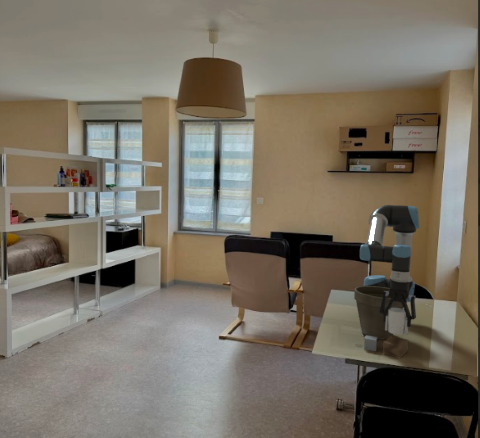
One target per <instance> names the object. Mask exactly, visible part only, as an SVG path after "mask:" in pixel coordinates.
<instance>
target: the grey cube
mask: <svg viewBox="0 0 480 438" xmlns="http://www.w3.org/2000/svg"><path fill="white" fill-rule="evenodd" d="M377 342H378V339H377V337H374V336H367V335H365V336H364V343H363V350H365V351H370V352H371V351H372V352H376V351H377V348H378V347H377V345H378V344H377Z"/></svg>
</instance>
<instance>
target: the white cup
mask: <svg viewBox="0 0 480 438" xmlns="http://www.w3.org/2000/svg"><path fill="white" fill-rule="evenodd" d="M406 319H407V317H406V312H405V311H404V308H403V309H401V308H391V309H390V310H389V309H388V332H390V333H392V334H393V335H396V336H397V335H398V336H399V335H401V336H403V335H404V332H405V320H406Z"/></svg>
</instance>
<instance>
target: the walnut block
mask: <svg viewBox="0 0 480 438" xmlns="http://www.w3.org/2000/svg"><path fill="white" fill-rule="evenodd" d="M408 345H409V340H408V339H406V338H401V337H397V336H394V335H393V336H390V337H389V338H388V339H384V341H383V342H382V354H383V355H388V356H391V357H395V358H398V359H401V358H402V357H403V356H404V355H405V354H406V353H407V352H408Z"/></svg>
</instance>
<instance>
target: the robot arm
mask: <svg viewBox="0 0 480 438" xmlns="http://www.w3.org/2000/svg"><path fill="white" fill-rule="evenodd" d="M419 219H420V218H419V209H418V207H417V206H413V205H400V204H399V205H397V204H396V205H395V204H394V205H393V204H384V205H382V206H379V207H378V208H376V209H374V210H373V211H372V213H371V214H370V215H369V218H368V225H369V228H368V233H367V237H366V243H365V244H361V245H360V248H359V259H360V260H362V261H367V262H379V263H387V264H389V263H390V264H391V272H390V277H389V278H387V276H385V275H381V274H379V275H378V274H376V275H368V276H366V277H364V280H363V286H376V287H384V288H390V290H389V291H384V292H383V299H382V303H381V308H380V313H382V314H383V315H384V320H383V321H384V322H386V324H385V330H386V331H387V330H388V309H389V310H390V309H391V307H392V305H393V303H394V302H395V301H398V302H401V303H402V305H403V309H404V311H405V312H406V317H407V319H406V320H405V332H404V334H403V335H405V336H407V335H408V334H409V328H410V327H411V326H412V320H415V319H417V313H416V295H414V293H415V286H416V282H415V281H413V278H412V276H411V262H412V248H413V235H414V234H415V233H416V232H417V230H418V229H420V220H419ZM387 227H389V228H392V231H393V232H394V233H395V237H394V239H395V240H394V245H393V246H387V245H383V243H384V237H385V230H386V228H387ZM388 294H390V296H391V300H390V302H389V304H388V306H387V308H386V310H385V311H384V309H385V305H386V300H387V296H388ZM406 299H407V301H406ZM408 303H410V304H408ZM408 305H410V308H409V306H408Z"/></svg>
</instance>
